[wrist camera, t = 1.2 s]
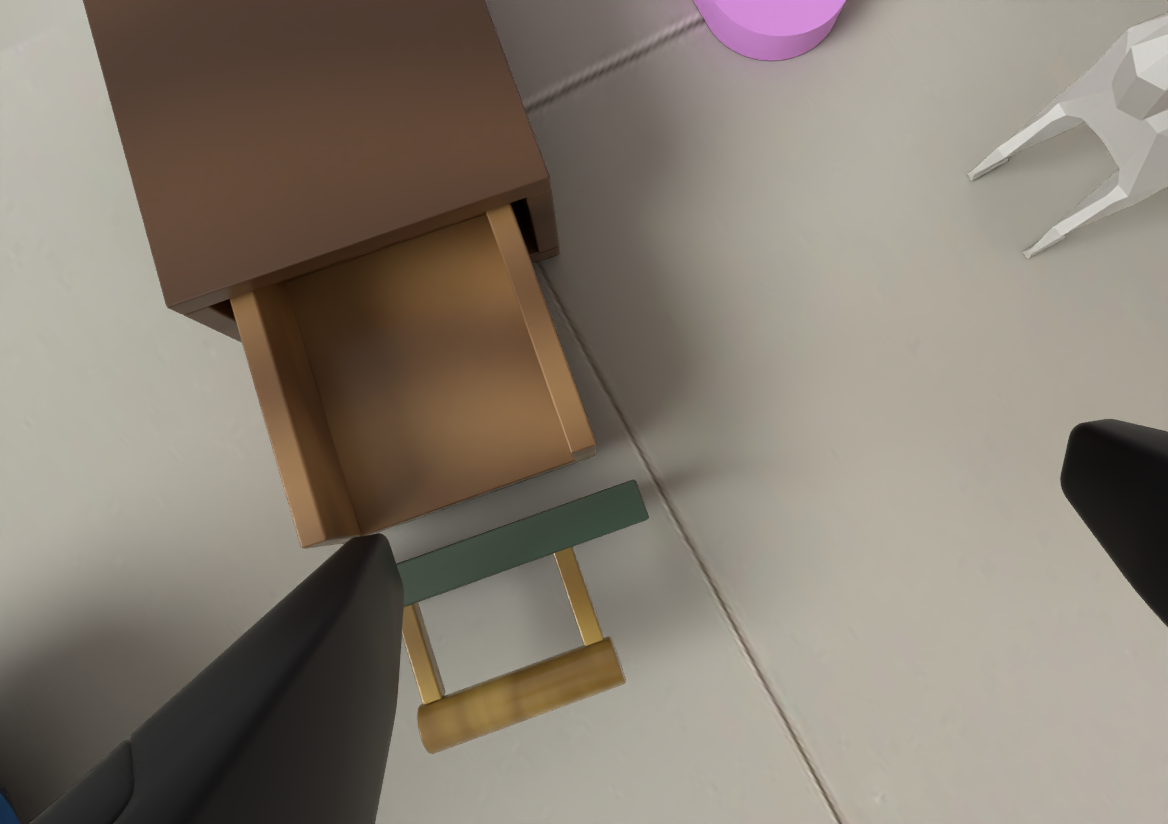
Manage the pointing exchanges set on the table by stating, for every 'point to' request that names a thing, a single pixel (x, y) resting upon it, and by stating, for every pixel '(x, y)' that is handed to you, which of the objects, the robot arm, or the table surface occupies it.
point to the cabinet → (310, 134)
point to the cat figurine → (1109, 125)
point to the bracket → (770, 25)
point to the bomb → (7, 809)
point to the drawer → (436, 437)
